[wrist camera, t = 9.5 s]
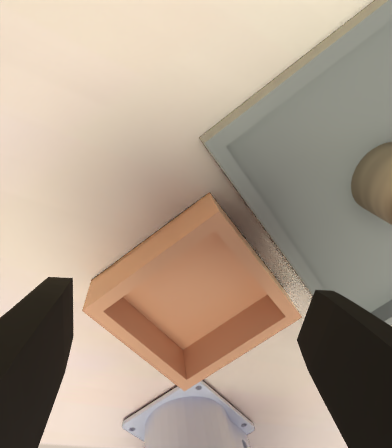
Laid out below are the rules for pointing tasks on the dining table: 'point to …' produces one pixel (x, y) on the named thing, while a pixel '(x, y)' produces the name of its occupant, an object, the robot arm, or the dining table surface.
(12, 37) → the dining table surface
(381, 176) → the birch peg
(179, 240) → the square terracotta tray
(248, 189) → the slate tray
